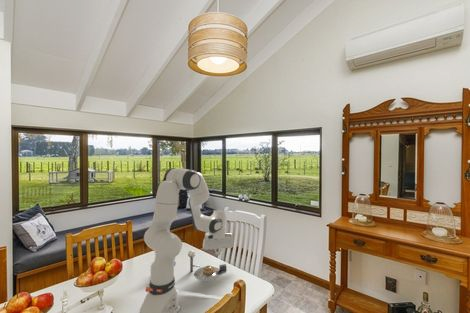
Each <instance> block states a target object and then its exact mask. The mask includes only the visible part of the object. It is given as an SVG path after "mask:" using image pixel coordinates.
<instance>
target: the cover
mask: <svg viewBox="0 0 470 313" xmlns="http://www.w3.org/2000/svg"><path fill="white" fill-rule="evenodd" d="M203 267H204V268H203V274H204V275H206V276H209V275H212V274H214V267H215V266H212V265H205V266H203Z"/></svg>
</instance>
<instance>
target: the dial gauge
mask: <svg viewBox="0 0 470 313" xmlns="http://www.w3.org/2000/svg"><path fill="white" fill-rule="evenodd" d="M187 256H188V257H189V258H190V261H189V262H190V264H189V266H190V268H189V270H190V273H193V271H194V268H201V265H195V264H194V258H195V256H196V252H195V251H194V250H189V251H188V253H187Z"/></svg>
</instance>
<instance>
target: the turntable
mask: <svg viewBox="0 0 470 313" xmlns="http://www.w3.org/2000/svg"><path fill="white" fill-rule="evenodd" d="M204 267H205V266H203V267H198V268H197V270H195V271H194V274H193V276H194V277H195V278H196V279H197V280H199V281H202V282H204V281H205V282H209V281H214V280H217V279H218V278H220V277H221V275H222V272H227V265H226V263H224V264H219V268H218V267H216V266H213V267H214V274H212V275H209V276H206V275H204V274H203V268H204Z"/></svg>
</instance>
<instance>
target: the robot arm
mask: <svg viewBox="0 0 470 313" xmlns="http://www.w3.org/2000/svg"><path fill="white" fill-rule="evenodd" d="M181 190H184V191H185V190H187V191H188V192H189V193H188V194H189V199H188V204H189V209H190V214H191V220H192V221H191V222H192V228H194V230H195V231H201V232H205V233H204V238H203V241H202V249H203V250H204V251H207V250H214V253H215V256H221V253H222V251H223V249H232V248H234V238H235V237H234V234H233V233H232V232H230V233H226V224H227V223H226V222H227V221H226V219H227V218H226V217H227V216H226V212H225V210H222V209H218V208H217V209H213V212H212V214H211V215H210V216H208V215H204V214H203V213H202V212H201V205H202V204H203V205H204V203H205V202H207V201H208V199H209V197H210V192H209V187H208V185H207V182H206V180H205V178H204V176H203V174H202V173H201V172H199V171H198V172H197V171H196V170H194V169H188V168H187V169H186V168H183V167H178V168H177V167H172V168H169V169H167V170H166V171H165V173H164V175H163V179H162V181H161V182H160V183H159V185H158V188H157V190H156V196H155V201H154V209H153V210H154V211H153V218H152V220H151V224H150V225H149V227H148V229H147V230H146V231H145V233H144V235H143V240H144V243H145V244H146V246H147V247H148V248H149V249H151V250H153V252H154V254H155V257H154V260H153V261H152V263H151V265H150V280H149V283H148V286H146V287H145V289H144V290H145V292H146V295H145V298H144V300H143V302H142V304H141V306H140V309H139V313H178V312H179V311H180V310H181V307H180V304H179V301H178V292H177V289H176V287H175V283H176V279H175V273H174V272H175V269H174V268H175V266H174V261H175V260H176V257H177V256H178V255H180V253H181V250H182V248H183V243H182V240H181V239H180V237H179V236H178V235H176V234H175V233H173V232H171V230H170V229H171V225H172V223H173V222H174V221H175V220H176V219H177V214H178V206H179V205H178V203H179V193H180V191H181ZM217 250H218V251H217ZM175 262H176V261H175Z"/></svg>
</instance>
